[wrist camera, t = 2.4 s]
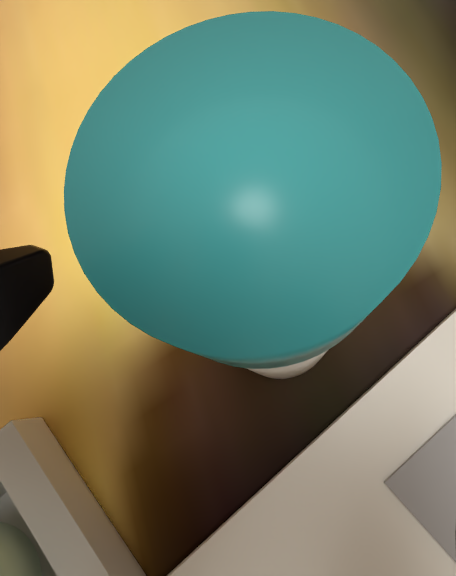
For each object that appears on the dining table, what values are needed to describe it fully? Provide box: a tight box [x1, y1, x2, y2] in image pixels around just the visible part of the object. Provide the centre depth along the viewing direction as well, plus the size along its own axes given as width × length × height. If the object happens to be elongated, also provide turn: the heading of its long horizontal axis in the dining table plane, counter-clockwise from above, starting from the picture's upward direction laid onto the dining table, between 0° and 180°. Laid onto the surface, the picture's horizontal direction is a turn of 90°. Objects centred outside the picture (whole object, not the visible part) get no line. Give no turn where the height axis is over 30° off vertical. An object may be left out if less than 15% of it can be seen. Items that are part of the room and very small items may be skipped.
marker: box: [64, 11, 441, 379], centre depth 11 cm, size 4×4×13 cm
